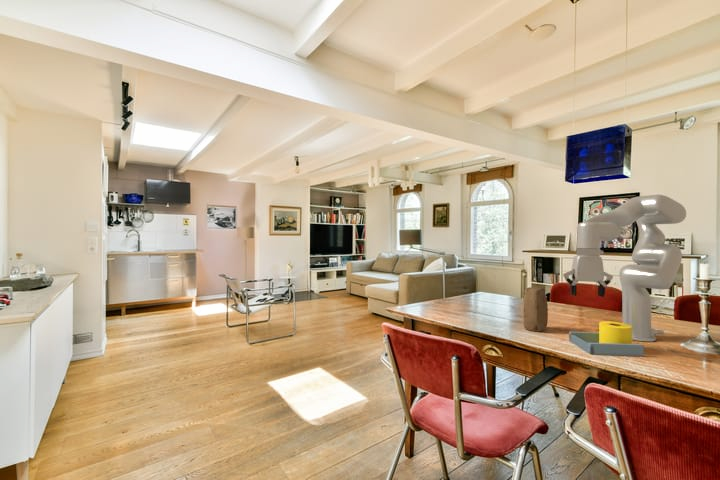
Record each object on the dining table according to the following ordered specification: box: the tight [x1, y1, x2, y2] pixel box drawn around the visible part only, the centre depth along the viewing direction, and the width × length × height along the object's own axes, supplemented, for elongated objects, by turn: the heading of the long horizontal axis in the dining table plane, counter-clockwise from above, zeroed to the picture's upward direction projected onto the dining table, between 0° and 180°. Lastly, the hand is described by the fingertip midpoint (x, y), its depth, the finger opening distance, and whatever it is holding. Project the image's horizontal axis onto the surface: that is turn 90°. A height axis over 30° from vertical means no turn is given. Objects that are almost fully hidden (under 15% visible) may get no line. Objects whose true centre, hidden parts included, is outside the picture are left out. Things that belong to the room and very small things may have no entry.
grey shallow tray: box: [568, 331, 645, 357], centre depth 126 cm, size 18×15×4 cm
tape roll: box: [598, 320, 633, 344], centre depth 126 cm, size 10×10×9 cm
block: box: [522, 286, 549, 333], centre depth 152 cm, size 11×8×20 cm
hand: (587, 295), depth 128 cm, fingers open, 9 cm apart
